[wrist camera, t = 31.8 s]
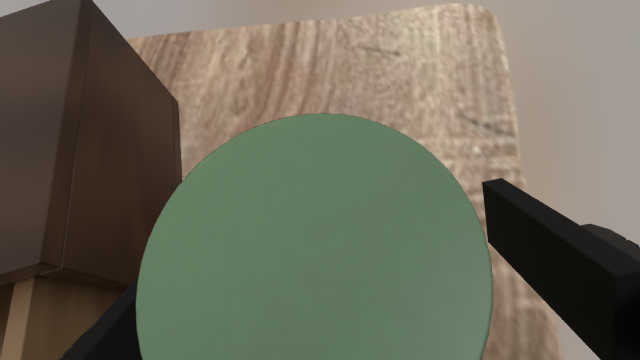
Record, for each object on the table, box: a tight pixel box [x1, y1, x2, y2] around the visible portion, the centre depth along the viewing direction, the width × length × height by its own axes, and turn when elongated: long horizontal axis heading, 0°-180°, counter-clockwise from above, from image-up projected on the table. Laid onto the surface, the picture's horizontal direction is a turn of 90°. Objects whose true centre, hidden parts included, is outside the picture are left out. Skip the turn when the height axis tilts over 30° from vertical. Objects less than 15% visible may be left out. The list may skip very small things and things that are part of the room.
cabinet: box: [0, 0, 182, 293], centre depth 20 cm, size 16×14×10 cm
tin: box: [136, 113, 493, 360], centre depth 13 cm, size 8×8×12 cm
